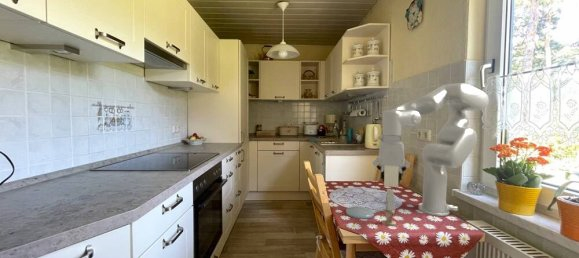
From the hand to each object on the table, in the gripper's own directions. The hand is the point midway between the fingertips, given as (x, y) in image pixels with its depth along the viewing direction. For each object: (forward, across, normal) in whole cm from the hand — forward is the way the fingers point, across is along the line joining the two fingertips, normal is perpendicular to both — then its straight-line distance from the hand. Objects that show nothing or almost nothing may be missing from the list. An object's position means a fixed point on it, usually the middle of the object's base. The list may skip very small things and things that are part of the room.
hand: (391, 180), depth 113 cm
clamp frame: (+16, -1, -1) cm, 16 cm away
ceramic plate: (+16, -13, -1) cm, 20 cm away
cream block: (+2, 0, 0) cm, 2 cm away
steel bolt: (+5, -1, -15) cm, 16 cm away
